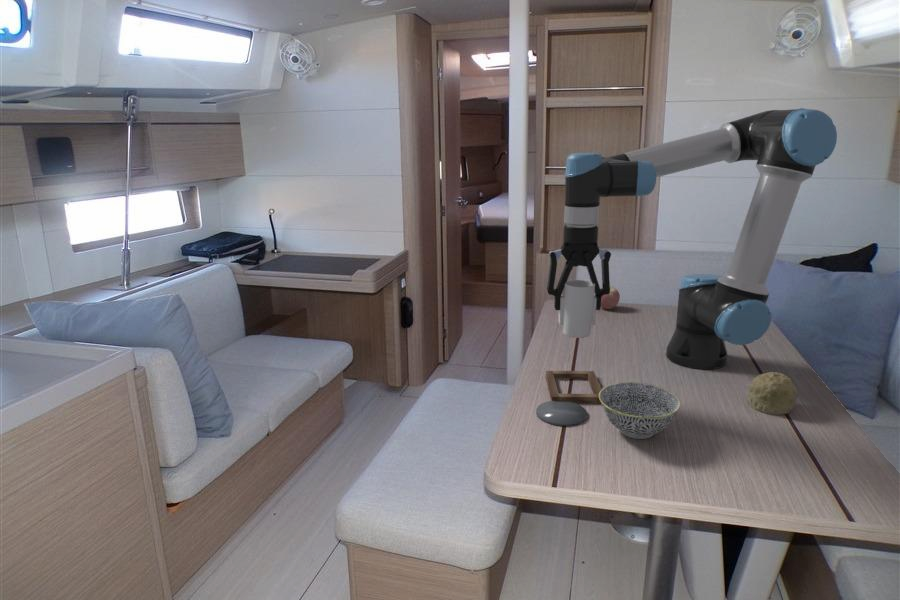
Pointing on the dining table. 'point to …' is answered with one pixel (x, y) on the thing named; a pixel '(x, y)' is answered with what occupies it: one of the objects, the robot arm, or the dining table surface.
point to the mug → (578, 308)
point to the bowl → (638, 408)
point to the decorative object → (772, 393)
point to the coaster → (561, 413)
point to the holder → (573, 375)
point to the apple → (610, 299)
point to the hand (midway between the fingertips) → (576, 322)
